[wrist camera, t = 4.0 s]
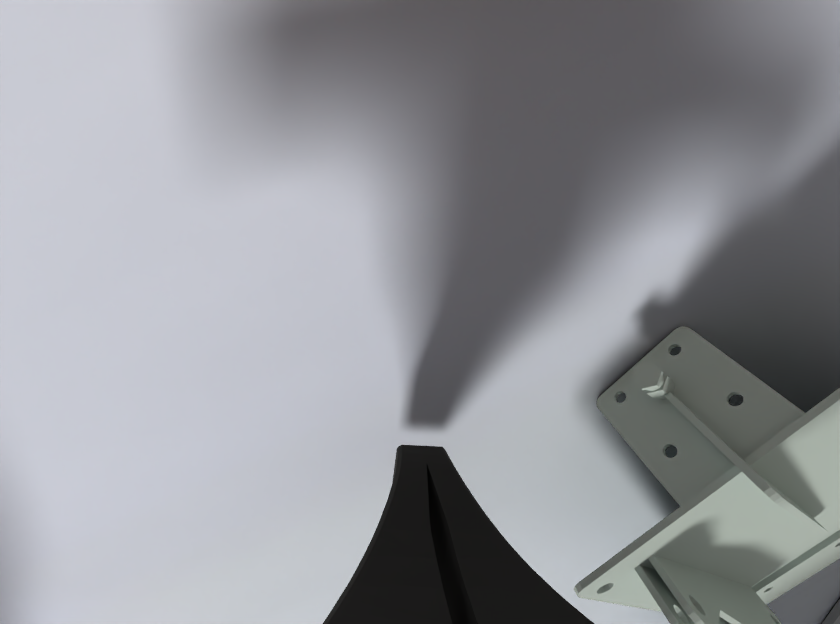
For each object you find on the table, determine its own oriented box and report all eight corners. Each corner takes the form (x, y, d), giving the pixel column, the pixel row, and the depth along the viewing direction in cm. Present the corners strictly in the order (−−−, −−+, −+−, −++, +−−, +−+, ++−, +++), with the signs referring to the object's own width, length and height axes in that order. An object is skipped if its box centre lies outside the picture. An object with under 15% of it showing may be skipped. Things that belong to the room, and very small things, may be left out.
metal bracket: (534, 719, 10) (1276, 232, 6) (453, 501, 15) (847, 143, 11) (733, 698, 18) (1123, 473, 14) (639, 558, 23) (910, 360, 19)
